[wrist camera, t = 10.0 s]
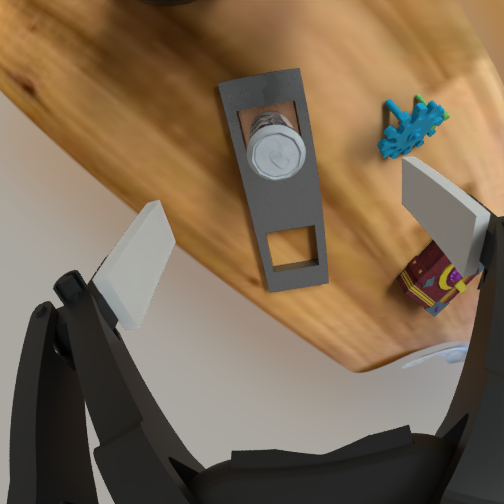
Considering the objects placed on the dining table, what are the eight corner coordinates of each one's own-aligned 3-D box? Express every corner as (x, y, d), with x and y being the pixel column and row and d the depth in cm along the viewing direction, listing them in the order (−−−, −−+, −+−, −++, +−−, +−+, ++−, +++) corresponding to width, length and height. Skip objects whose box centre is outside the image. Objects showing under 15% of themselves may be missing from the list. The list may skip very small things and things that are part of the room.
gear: (378, 172, 32) (392, 128, 22) (353, 137, 33) (357, 87, 24) (440, 142, 30) (463, 99, 21) (414, 110, 32) (429, 63, 22)
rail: (219, 83, 28) (217, 83, 27) (297, 68, 27) (299, 67, 26) (269, 286, 44) (269, 292, 43) (326, 276, 43) (328, 283, 42)
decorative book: (393, 275, 43) (404, 296, 39) (458, 206, 35) (475, 222, 31) (425, 300, 46) (435, 319, 42) (483, 241, 39) (497, 257, 35)
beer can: (269, 103, 29) (275, 114, 19) (300, 130, 31) (320, 155, 21) (241, 132, 31) (233, 158, 21) (272, 157, 33) (278, 196, 23)
